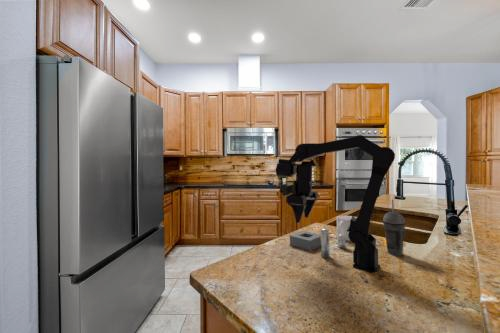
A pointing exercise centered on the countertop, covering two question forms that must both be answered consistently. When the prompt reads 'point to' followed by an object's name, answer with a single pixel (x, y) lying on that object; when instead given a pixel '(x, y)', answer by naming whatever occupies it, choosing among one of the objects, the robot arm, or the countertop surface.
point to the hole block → (305, 240)
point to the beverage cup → (394, 231)
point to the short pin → (341, 241)
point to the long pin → (325, 243)
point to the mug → (343, 225)
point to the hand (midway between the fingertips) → (302, 219)
